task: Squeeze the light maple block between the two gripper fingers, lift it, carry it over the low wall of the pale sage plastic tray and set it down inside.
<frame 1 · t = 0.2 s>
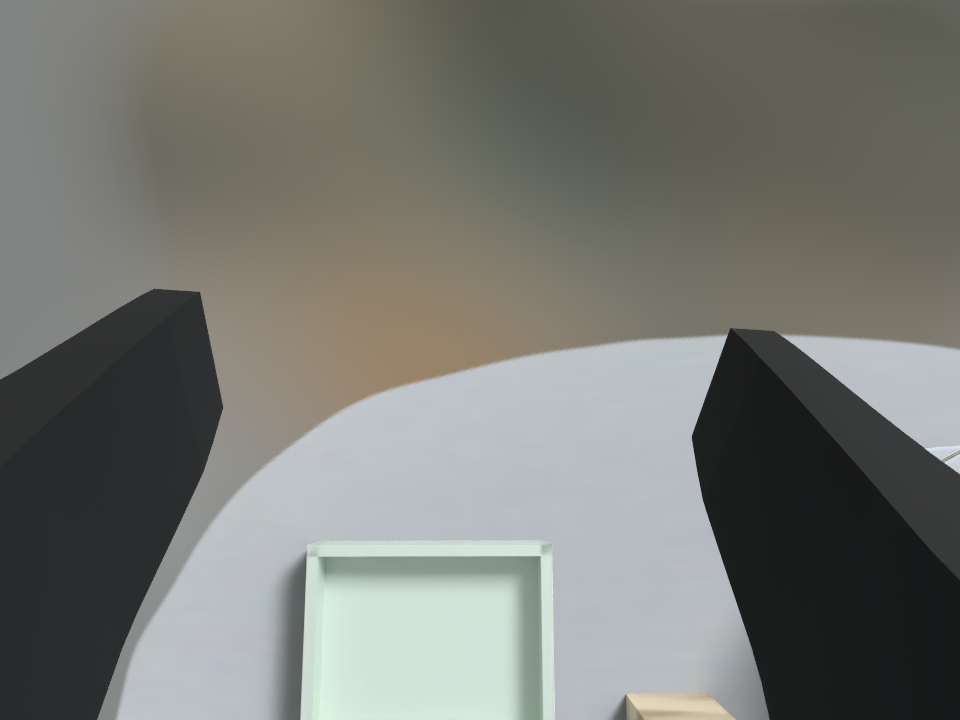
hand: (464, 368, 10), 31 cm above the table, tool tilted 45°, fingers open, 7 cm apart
syrup box: (897, 512, 40), on the table
serving tray: (431, 642, 39), on the table
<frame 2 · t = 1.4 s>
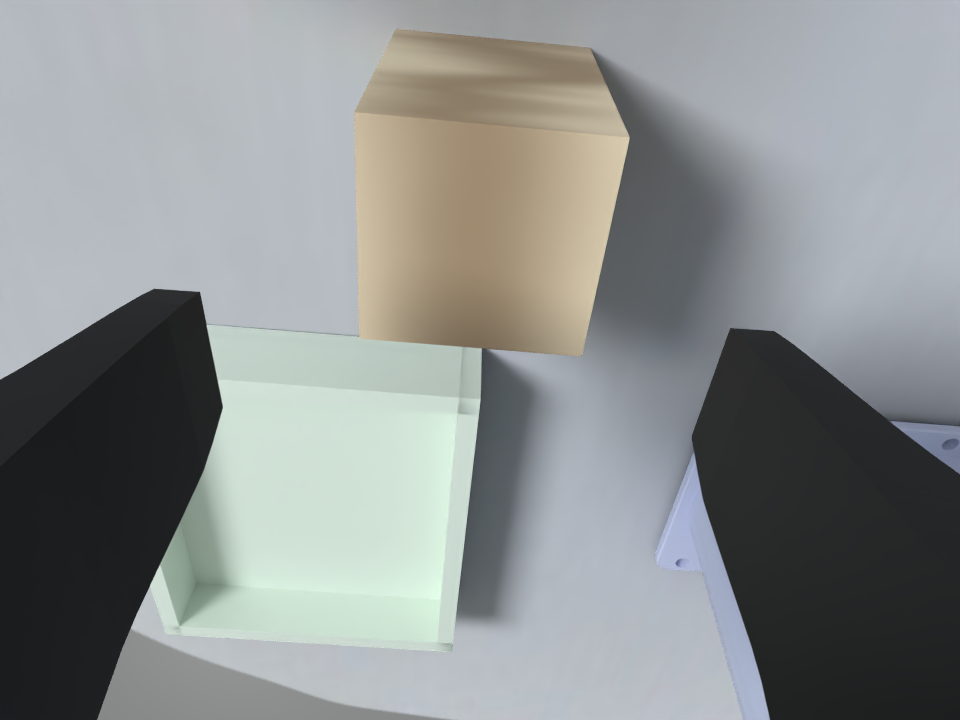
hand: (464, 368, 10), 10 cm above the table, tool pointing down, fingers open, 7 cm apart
maple block: (484, 134, 17), on the table
serving tray: (313, 479, 25), on the table
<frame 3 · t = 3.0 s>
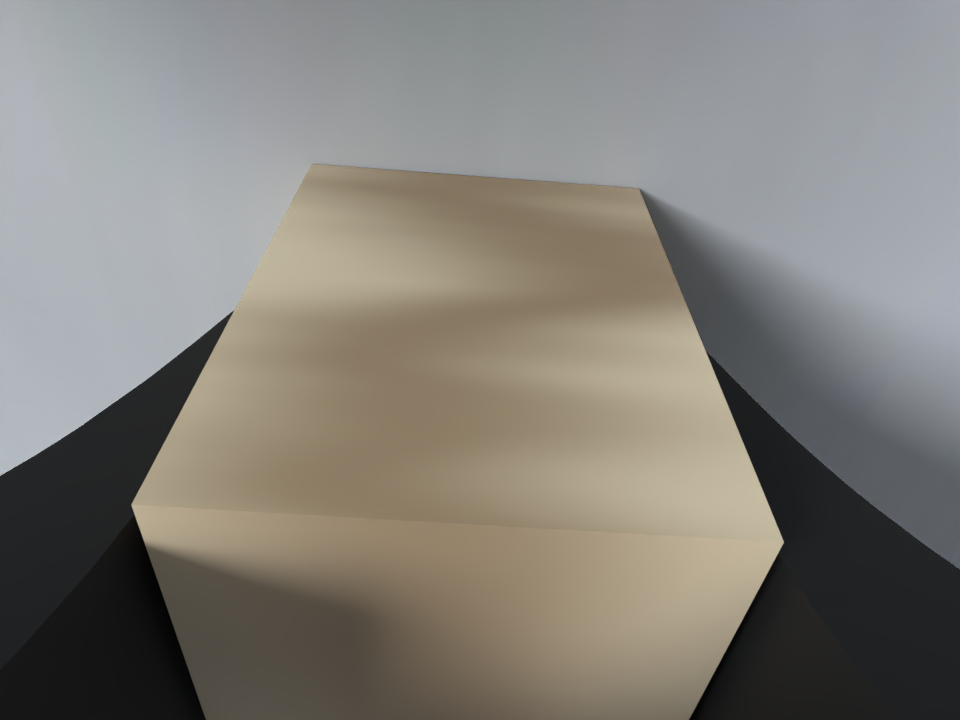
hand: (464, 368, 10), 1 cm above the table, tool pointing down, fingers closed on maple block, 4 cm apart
maple block: (466, 312, 11), on the table, touching gripper
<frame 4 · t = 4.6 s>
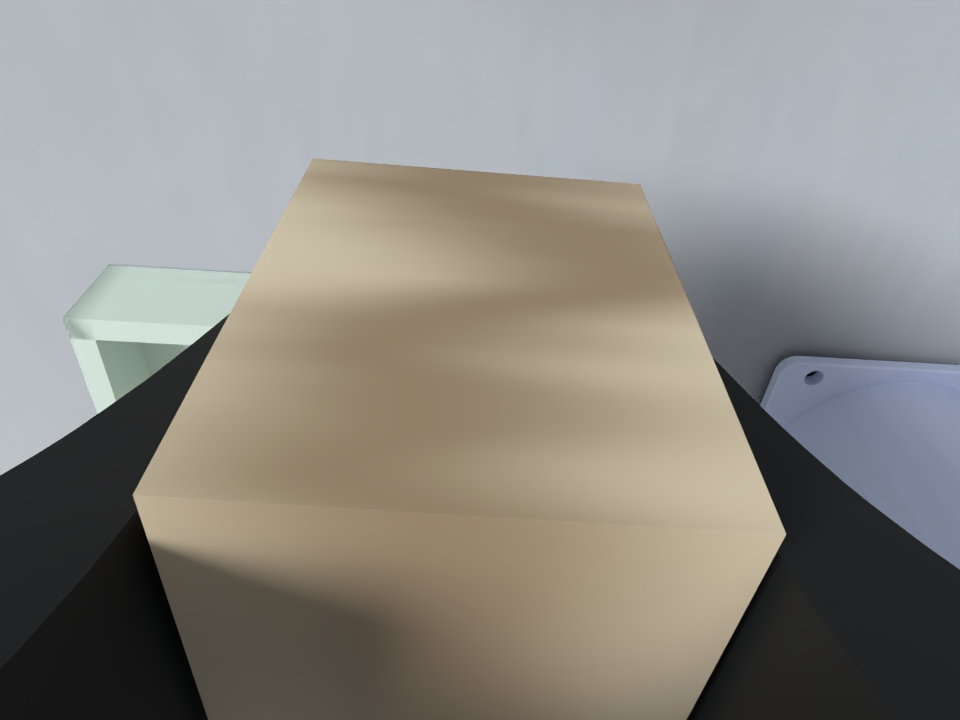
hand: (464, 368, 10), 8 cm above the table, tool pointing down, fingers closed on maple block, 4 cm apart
maple block: (467, 308, 11), point 7 cm above the table, touching gripper
serving tray: (333, 450, 23), on the table
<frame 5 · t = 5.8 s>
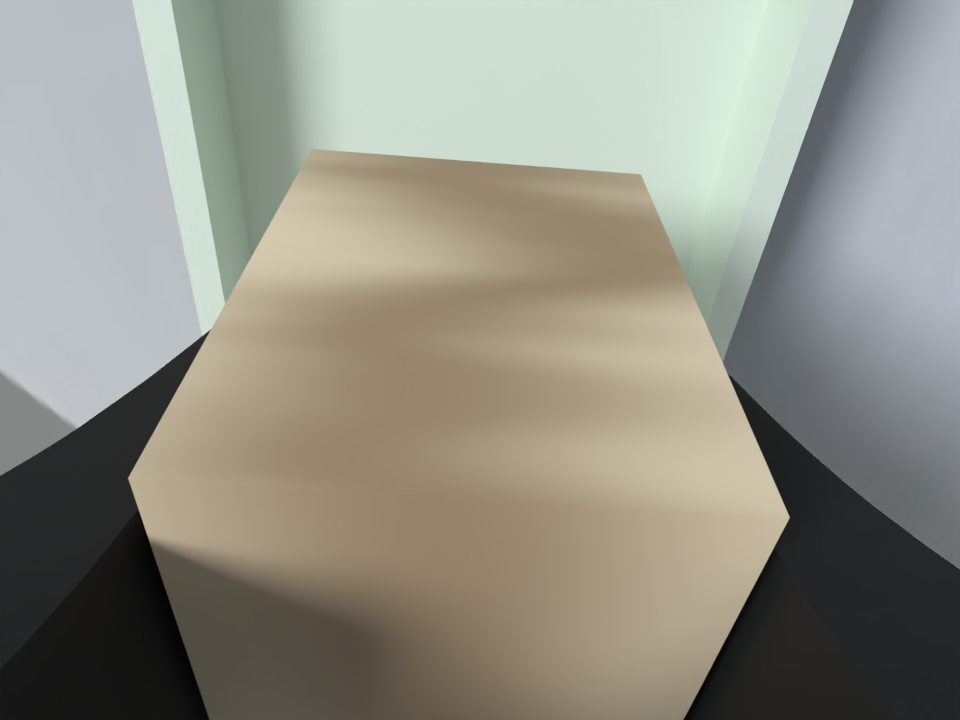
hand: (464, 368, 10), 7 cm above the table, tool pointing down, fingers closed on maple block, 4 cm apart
maple block: (467, 300, 11), point 5 cm above the table, touching gripper
serving tray: (475, 179, 15), on the table
when the fingers open (4 cm above the table, at t = 6.7 s): maple block drops 2 cm, resting on serving tray.
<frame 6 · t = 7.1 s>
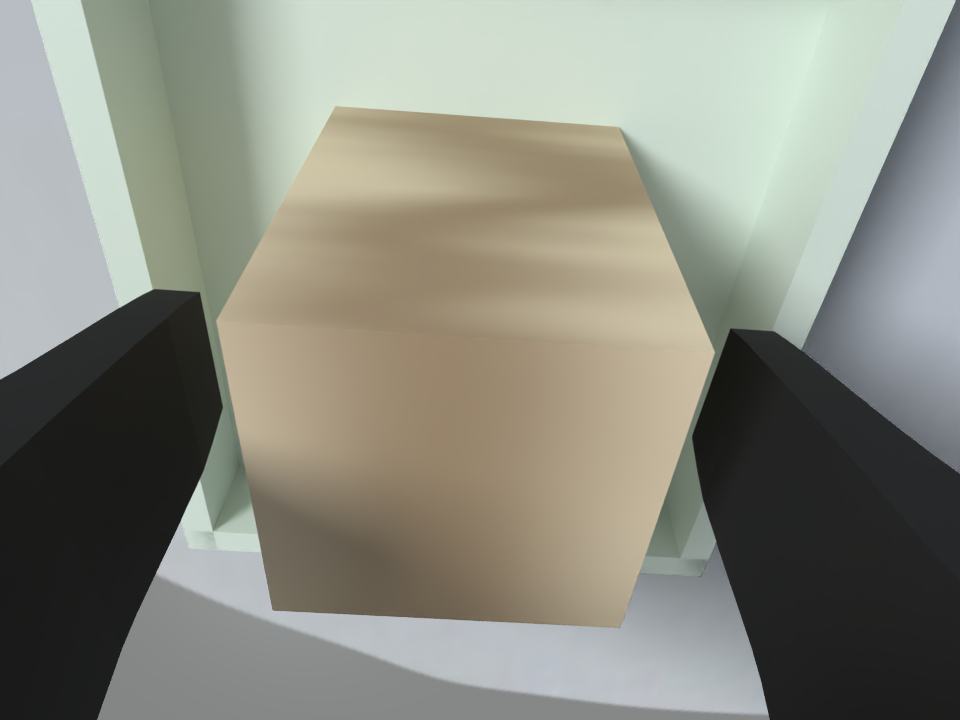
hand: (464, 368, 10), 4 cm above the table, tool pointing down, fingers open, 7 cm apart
maple block: (469, 243, 12), point 1 cm above the table, touching serving tray
serving tray: (470, 235, 13), on the table
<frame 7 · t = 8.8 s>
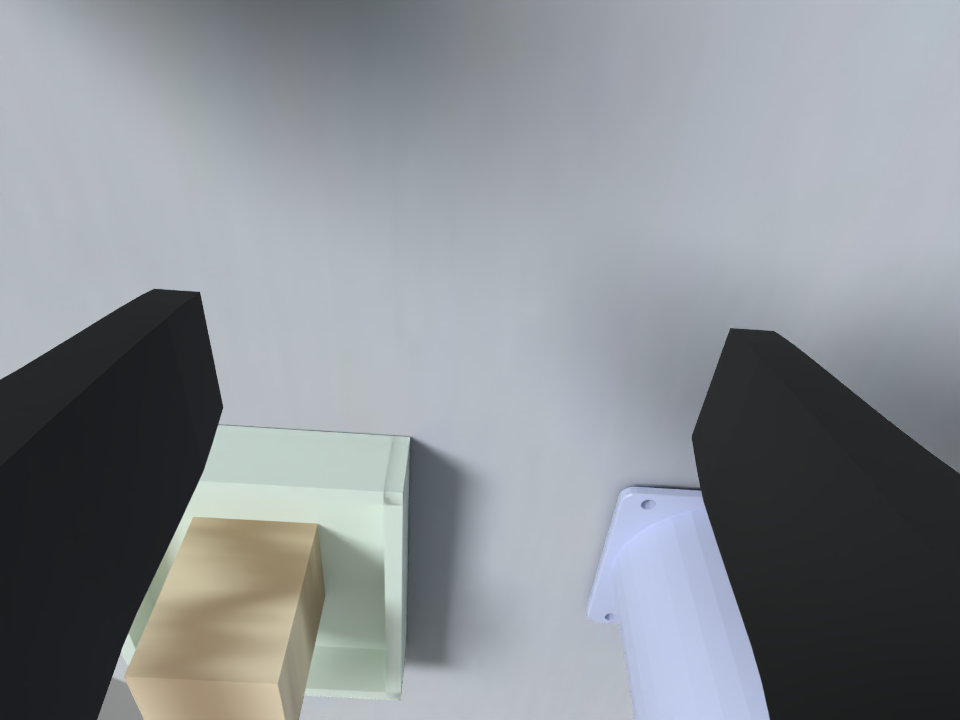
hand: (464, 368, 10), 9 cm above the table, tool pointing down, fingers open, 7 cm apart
maple block: (262, 558, 27), point 1 cm above the table, touching serving tray
serving tray: (267, 548, 27), on the table
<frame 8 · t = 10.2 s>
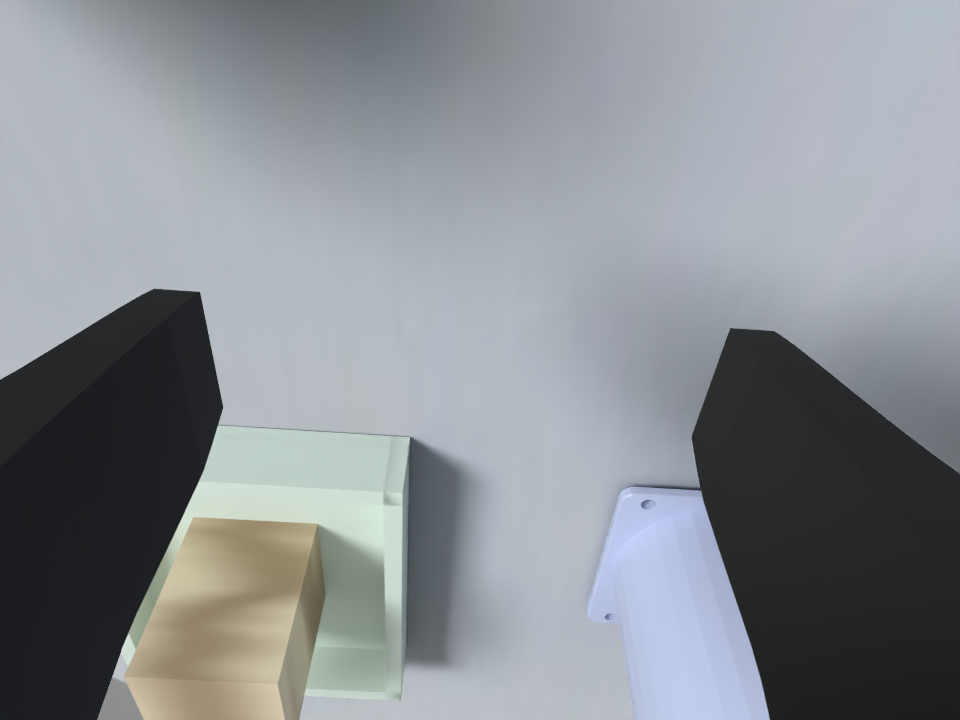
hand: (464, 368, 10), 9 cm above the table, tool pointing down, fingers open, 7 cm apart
maple block: (262, 558, 27), point 1 cm above the table, touching serving tray
serving tray: (267, 548, 27), on the table
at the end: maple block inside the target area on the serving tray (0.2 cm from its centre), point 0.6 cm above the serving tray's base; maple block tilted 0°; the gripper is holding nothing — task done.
